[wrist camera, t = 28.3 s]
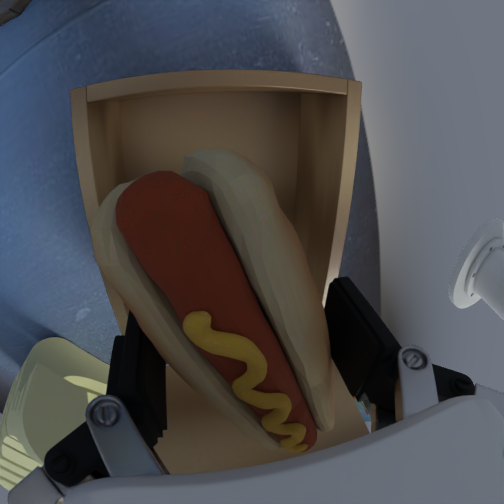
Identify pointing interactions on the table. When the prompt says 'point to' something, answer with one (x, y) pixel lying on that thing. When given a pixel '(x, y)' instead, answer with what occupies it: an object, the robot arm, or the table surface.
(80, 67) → the table surface
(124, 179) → the box
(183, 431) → the lid
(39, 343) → the slatted curved stool
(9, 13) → the mug
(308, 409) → the food
